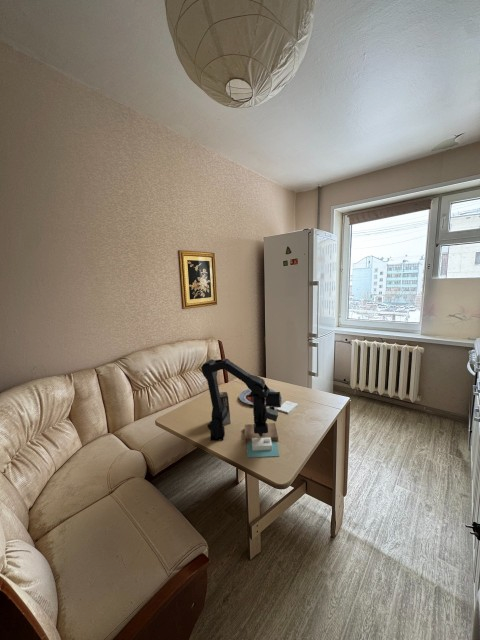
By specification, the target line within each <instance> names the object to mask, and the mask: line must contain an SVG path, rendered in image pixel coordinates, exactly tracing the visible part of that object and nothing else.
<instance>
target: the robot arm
mask: <svg viewBox="0 0 480 640" xmlns="http://www.w3.org/2000/svg"><path fill="white" fill-rule="evenodd" d="M222 370H225V371H226V372H228V373H229V374H230V375H232V376H233V377H236V379H238V380H240V381H241V382H242V383H244V384H245V385H246V387H247V389H250V390H251V392H250V393H249V395H248V397H253V405H252V406H253V407H252V409H253V410H252V414H253V424H254V433H255V434H257V433H258V434H259V435H260V436H262V435H263V433H268V425H267V424H268V423H267V421H268V420H271V421H273V422H277V419H278V417H279V411H277V410H276V409H275V408H278V407H280V408H281V405H282V394H281V392H280V391H275V392H269V391H270V389H271V388H269V387H268V386H267V384H266V381H265V379H263V378H262V377H260V376H259V375H255V374H251V373H249V372H248V371H246V370H245V369H242V368H241V367H240V366H238V365H237V364H235V363H234V362H232V361H230V359H229V358H224V359H208V360H207V361H206V362H204V363H203V364H202V366H201V373H202V376H203V377H204V378H205V380H206V381H207V385H208V391H209V397H210V400H211V401H210V402H211V406H212V410H211V420H210V422H209V423H208V424H207V428H208V430H209V431H210V442H211V441H224V439H225V435H226V432H225V426H224V424H223V422H224V421H225V419H226V417H227V414H228V412H227V407H223V405H222V403H221V398H220V393H221V392H220V389H219V384H218V377H217V376H218V371H222ZM263 390H264V391H263ZM265 398H266V404H265Z"/></svg>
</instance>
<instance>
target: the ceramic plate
mask: <svg viewBox="0 0 480 640" xmlns="http://www.w3.org/2000/svg"><path fill="white" fill-rule="evenodd" d="M269 389H270V391H269V392H276V390H274V389H271V388H269ZM263 391H264V390H263ZM250 392H251V390H250V389H249V388H247V389H245V390H242V391H241V392H240V393H239V396H238V398H239V400H240V401H241V402H242V403H244V404H247V405H252V406H253V397H248V395H249V393H250ZM265 405H267V404H266V398H265Z"/></svg>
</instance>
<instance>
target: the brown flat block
mask: <svg viewBox="0 0 480 640" xmlns="http://www.w3.org/2000/svg"><path fill="white" fill-rule="evenodd" d="M254 424H255V423H251V424H244V444H247V443H252V438H268V437H271V442H274V441H276V442H279V436H278V432H277V426H276V425H277V424H276V423H275V422H271V423H270V422H269V423H267V425H268V433H263V435H262V436H260V435H259V434H258V433H257V434H255V433H254Z"/></svg>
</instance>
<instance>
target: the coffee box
mask: <svg viewBox="0 0 480 640" xmlns="http://www.w3.org/2000/svg"><path fill="white" fill-rule="evenodd" d="M219 393H220V398H221V403H222V405H223V407H227V412H228V414H227V417H226V419H225V421H224V422H223V425H227V424H231V423H232V422H231V414H230V413H231V412H230V403H229V394H228V392H227V391H222V392H219Z"/></svg>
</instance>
